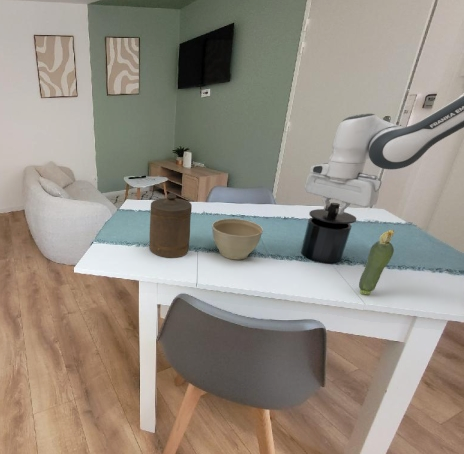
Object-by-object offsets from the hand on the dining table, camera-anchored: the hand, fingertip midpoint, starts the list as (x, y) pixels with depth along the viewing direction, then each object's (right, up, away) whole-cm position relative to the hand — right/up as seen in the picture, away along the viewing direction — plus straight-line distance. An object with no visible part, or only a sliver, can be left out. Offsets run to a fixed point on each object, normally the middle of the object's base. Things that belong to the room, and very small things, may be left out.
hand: (332, 212), depth 95 cm
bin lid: (0, -1, +1) cm, 2 cm away
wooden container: (-50, -13, +17) cm, 55 cm away
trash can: (+1, -15, +6) cm, 16 cm away
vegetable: (-1, -24, -13) cm, 27 cm away
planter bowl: (-28, -15, +11) cm, 34 cm away
